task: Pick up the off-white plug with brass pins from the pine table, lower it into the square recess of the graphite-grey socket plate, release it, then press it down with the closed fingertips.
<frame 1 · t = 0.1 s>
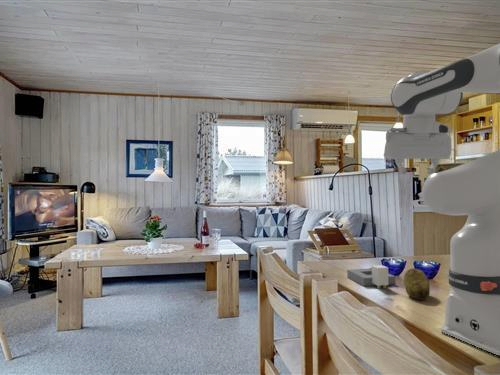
hand: (416, 174, 114), 39 cm above the table, tool pointing down, fingers open, 8 cm apart
potato: (416, 296, 120), on the table
socket: (370, 280, 140), on the table
plug: (380, 287, 131), on the table
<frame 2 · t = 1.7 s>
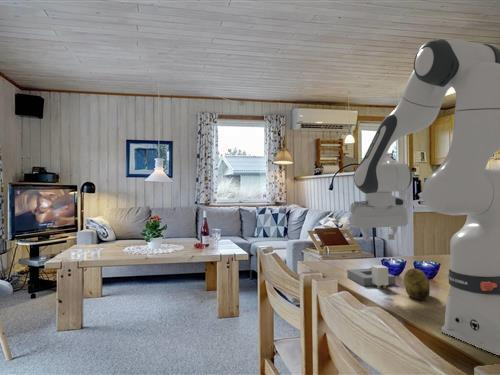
hand: (379, 240, 131), 16 cm above the table, tool pointing down, fingers open, 8 cm apart
nothing on the table moved.
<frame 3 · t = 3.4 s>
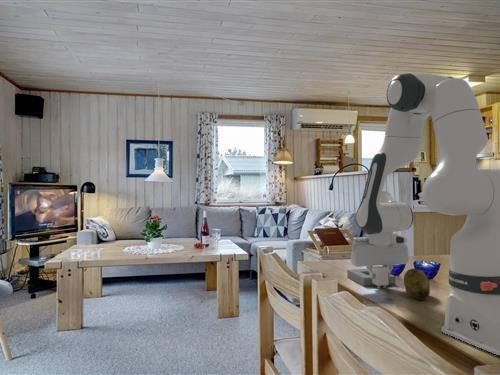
hand: (380, 277, 131), 3 cm above the table, tool pointing down, fingers closed on plug, 4 cm apart
plug: (380, 287, 131), on the table, touching gripper
everything else where it was.
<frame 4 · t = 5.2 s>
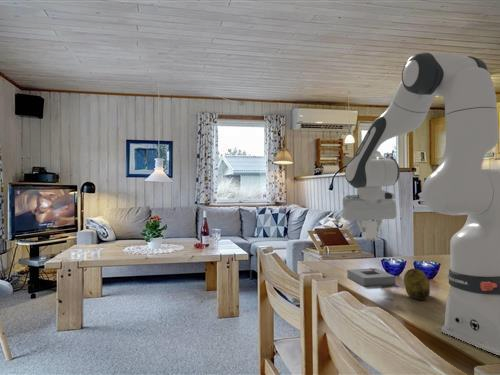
hand: (369, 231, 139), 18 cm above the table, tool pointing down, fingers closed on plug, 4 cm apart
plug: (369, 240, 140), point 15 cm above the table, touching gripper
everything else where it was.
when the fingers open (5 cm above the table, at t = 7.1 s): plug drops 1 cm, resting on socket.
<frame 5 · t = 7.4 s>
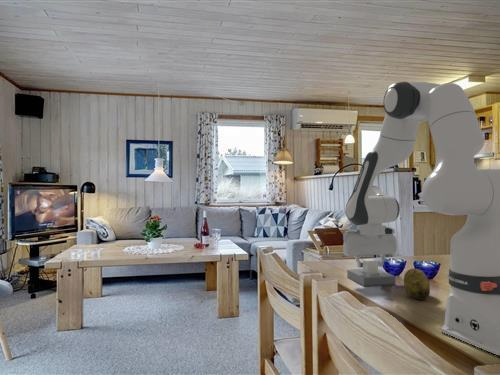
hand: (370, 266, 140), 5 cm above the table, tool pointing down, fingers open, 7 cm apart
plug: (370, 279, 140), resting on socket
everything else where it was.
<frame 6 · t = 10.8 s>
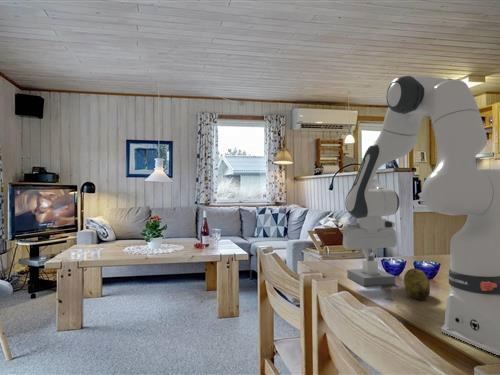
hand: (369, 260, 140), 8 cm above the table, tool pointing down, fingers closed, pressing on plug
plug: (370, 279, 140), point 1 cm above the table, touching gripper, socket
everything else where it was.
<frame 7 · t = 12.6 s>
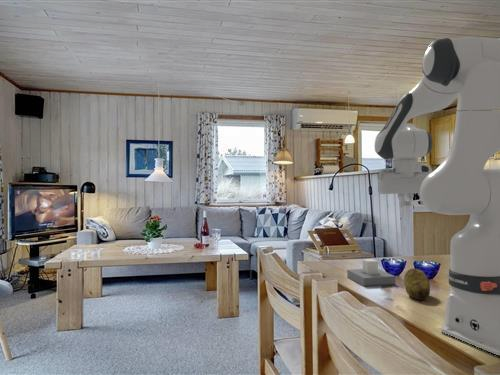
hand: (405, 206, 137), 28 cm above the table, tool pointing down, fingers closed
plug: (370, 279, 140), resting on socket
everything else where it was.
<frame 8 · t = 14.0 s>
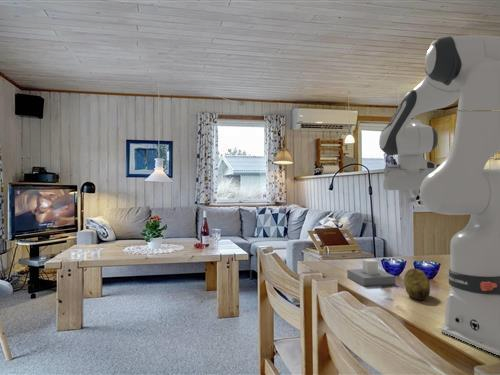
hand: (411, 202, 137), 29 cm above the table, tool pointing down, fingers closed
nothing on the table moved.
at the end: plug 0.0 cm off-centre on the socket, point 0.5 cm above the socket's base; plug tilted 0°; the gripper is holding nothing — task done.
